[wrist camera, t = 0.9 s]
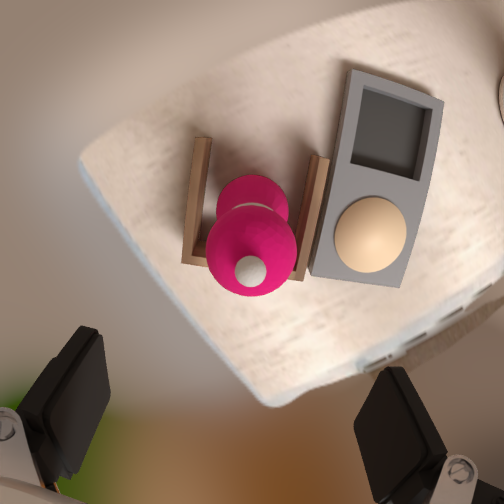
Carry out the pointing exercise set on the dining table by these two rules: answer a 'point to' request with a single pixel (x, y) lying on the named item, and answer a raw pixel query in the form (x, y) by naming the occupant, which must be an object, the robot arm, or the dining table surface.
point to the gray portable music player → (376, 181)
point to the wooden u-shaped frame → (306, 222)
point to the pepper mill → (251, 237)
